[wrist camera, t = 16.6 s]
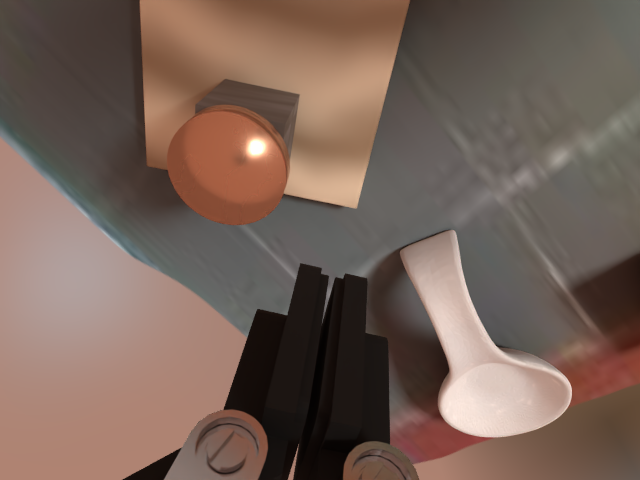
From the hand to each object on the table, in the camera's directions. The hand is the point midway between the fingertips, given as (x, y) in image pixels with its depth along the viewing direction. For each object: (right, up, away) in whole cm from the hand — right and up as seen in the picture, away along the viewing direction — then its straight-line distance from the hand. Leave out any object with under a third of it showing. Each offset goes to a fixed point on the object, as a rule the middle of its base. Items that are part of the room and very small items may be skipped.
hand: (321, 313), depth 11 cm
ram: (-4, +9, +18) cm, 21 cm away
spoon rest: (+14, -7, +30) cm, 34 cm away
